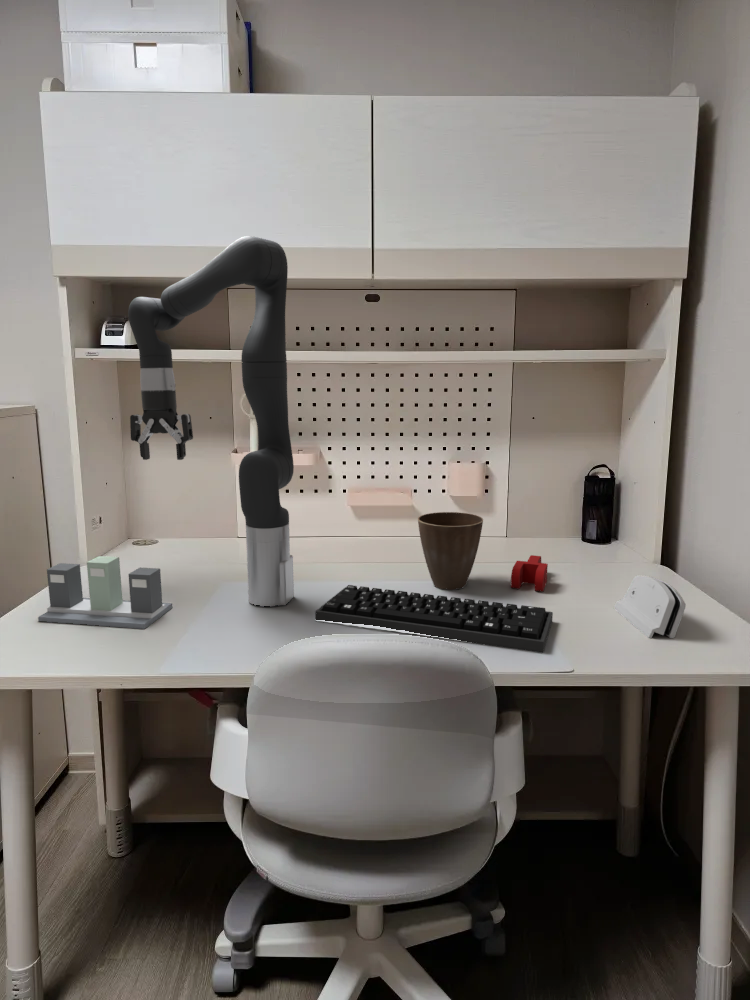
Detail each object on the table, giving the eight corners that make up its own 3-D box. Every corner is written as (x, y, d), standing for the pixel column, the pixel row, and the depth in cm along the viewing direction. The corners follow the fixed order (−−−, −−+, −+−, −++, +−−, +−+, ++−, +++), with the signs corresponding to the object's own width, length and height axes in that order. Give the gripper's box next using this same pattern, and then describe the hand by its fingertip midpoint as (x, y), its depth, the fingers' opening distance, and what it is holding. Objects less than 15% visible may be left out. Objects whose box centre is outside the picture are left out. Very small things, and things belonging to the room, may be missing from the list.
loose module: (122, 603, 144) (119, 557, 142) (110, 610, 139) (106, 563, 137) (102, 601, 144) (99, 556, 142) (90, 609, 140) (86, 562, 138)
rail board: (172, 607, 146) (169, 563, 144) (144, 628, 135) (141, 581, 133) (73, 601, 150) (69, 558, 148) (38, 621, 138) (33, 575, 136)
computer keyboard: (315, 623, 139) (315, 605, 138) (345, 598, 153) (345, 582, 153) (543, 655, 124) (544, 635, 123) (552, 624, 138) (553, 606, 138)
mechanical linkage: (542, 594, 155) (543, 573, 154) (510, 590, 157) (511, 569, 156) (550, 574, 170) (551, 554, 169) (521, 571, 172) (522, 551, 171)
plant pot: (406, 589, 157) (407, 521, 154) (430, 572, 171) (431, 509, 167) (469, 599, 151) (471, 528, 148) (489, 580, 164) (491, 515, 161)
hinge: (612, 607, 146) (631, 564, 144) (632, 614, 147) (651, 571, 145) (649, 639, 130) (671, 591, 128) (671, 646, 130) (693, 598, 129)
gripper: (120, 389, 154) (126, 461, 157) (180, 388, 151) (185, 461, 154) (137, 388, 161) (143, 457, 164) (194, 387, 159) (199, 457, 162)
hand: (163, 459), depth 159 cm, fingers open, 8 cm apart
